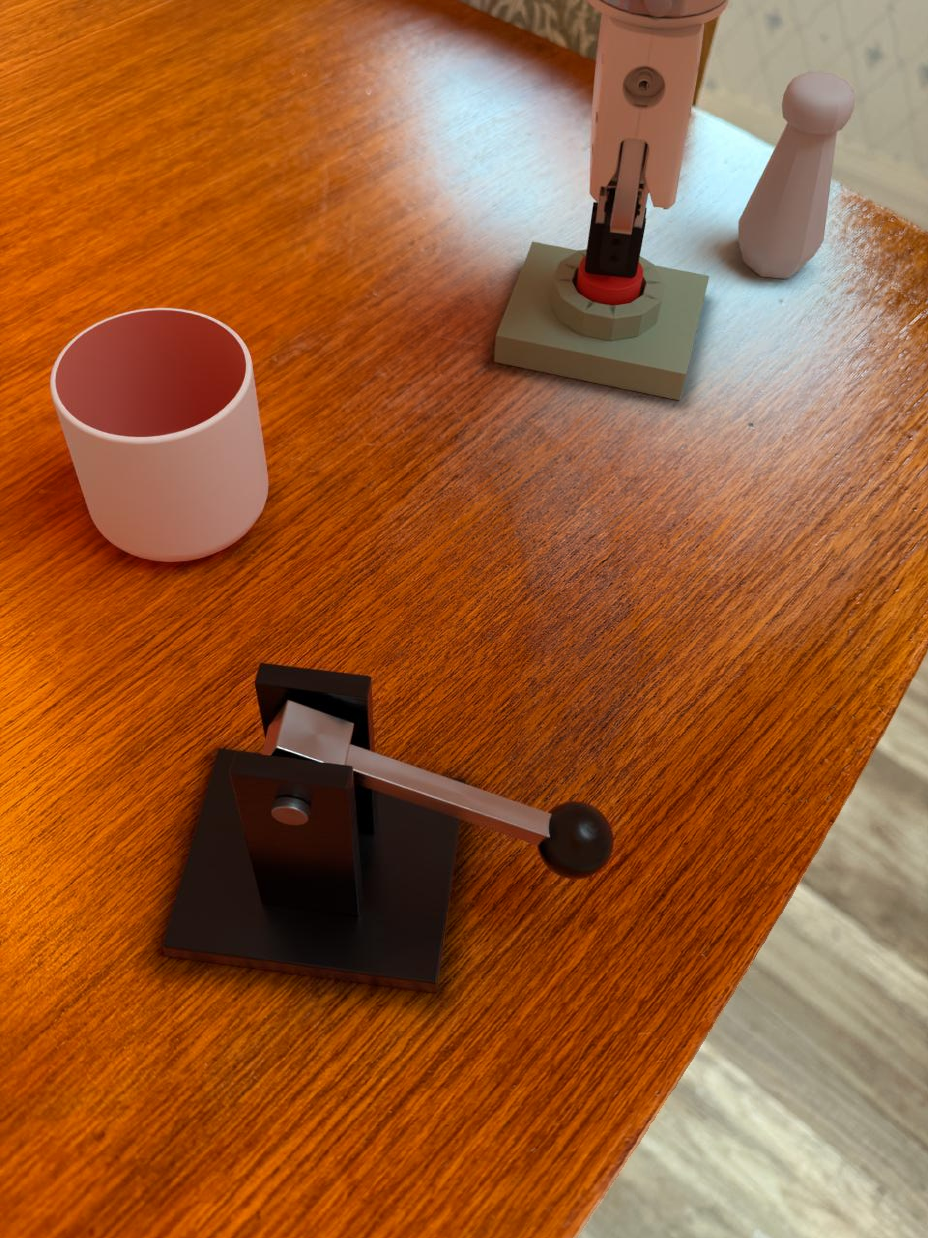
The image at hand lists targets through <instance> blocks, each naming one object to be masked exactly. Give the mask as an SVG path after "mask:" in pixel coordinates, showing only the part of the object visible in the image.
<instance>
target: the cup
mask: <svg viewBox="0 0 928 1238" xmlns="http://www.w3.org/2000/svg"><path fill="white" fill-rule="evenodd" d="M49 390H50V395H51V399H52V402H53V405H54V408H55V412H56V414H57V419H58V421H59V424H60V428H61V430H62V433H63V436H64V440H65V442H66V445H67V448H68V452H69V454H70V458H71V461H72V464H73V467H74V470H75V474H76V476H77V479H78V483H79V485H80V488H81V491H82V495H83V498H84V501H85V504H86V507H87V510H88V513H89V515H90V518H91V520H92V522H93V524H94V526H95V527H96V528H97V530H98V532H100V534H101V535H102V536H103V537H104V538H105V539H106V540H108V542H109V543H111V544H112V545H114V546H115V547H117V548H118V549H120V550H121V551H123V552H125V553H127V554H130V555H132V556H135V557H138V558H141V559H145V560H149V561H156V562H162V563H163V562H165V563H174V562H189V561H194V560H198V559H202V558H206V557H208V556H211V555H214V554H217V553H219V552H221V551H223V550H226V549H227V548H229V547H230V546H232V545H233V544H235V543H236V542H238V541H239V540H240V539H241V538H242V537H244V536H245V535H246V534H247V533H248V532H249V531H250V530H251V529H252V528H253V526H254V525H255V524H256V523H257V521H258V520H259V518H260V516H261V514H262V512H263V511H264V507H265V506H266V504H267V503H266V502H267V498H268V494H269V475H268V467H267V459H266V454H265V453H266V452H265V445H264V438H263V432H262V431H263V430H262V423H261V416H260V409H259V402H258V394H257V389H256V380H255V373H254V366H253V360H252V356H251V354H250V350H249V348H248V347H247V345H246V343H245V341H244V340H243V339H242V338H241V337H240V335H239V334H238V333H237V332H236V331H235V330H234V329H232V328H231V327H229V326H228V325H227V324H225V323H224V322H222V321H220V320H218V319H216V318H215V317H212V316H209V315H207V314H204V313H201V312H197V311H193V310H188V309H184V308H174V307H153V308H152V307H150V308H141V309H136V310H131V311H130V310H129V311H126V312H122V313H118V314H116V315H113V316H110V317H107V318H105V319H102V320H100V321H98V322H95V323H94V324H92V325H90V326H88V327H87V328H86V329H84V330H83V331H81V332H79V333H78V334H77V335H76V336H75V337H74V338H72V339H71V340H70V341H69V342H68V343H67V344H66V345H65V347H64V348H63V349H62V350H61V352H60V353H59V355H58V356H57V358H56V359H55V362H54V364H53V366H52V369H51V373H50V380H49Z"/></svg>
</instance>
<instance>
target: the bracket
mask: <svg viewBox="0 0 928 1238" xmlns="http://www.w3.org/2000/svg"><path fill="white" fill-rule="evenodd" d="M258 664H259V665H258V668H257V672H256V674H255V678H254V682H253V683H254V689H255V693H256V699H257V704H258V705H257V706H258V709H259V715H260V720H261V726H262V729H263V736H264V740H265V739H266V735H267V731H268V727H269V725H270V724H271V722H272V721H273V720H274V718H275V717H276V715H277V714H278V713H279V711H280V710H281V708H282V707H283V706H284V704H285V703H286V701H287V700H292V701H294V702H297V703H300V704H303V705H306V706H309V707H311V708H314V709H317V710H320V711H323V712H325V713H328V714H331V715H334V716H337V717H340V718H342V719H345V720H348V721H351V722H353V723H354V728H353V733H352V737H351V742H350V744H352V745H355V746H358V747H361V748H364V749H367V750H370V751H372V752H375V753H376V745H375V744H376V743H375V726H374V725H375V724H374V723H375V722H374V721H375V720H374V704H373V703H374V702H373V701H374V700H373V681H372V675H365V674H357V673H350V672H340V671H332V670H323V669H315V668H307V667H299V666H291V665H284V664H283V665H282V664H276V663H267V662H259V663H258ZM446 777H447V778H450V779H453V780H456V781H459V782H462V783H464V784H467V780H466V779H464V778H457V777H450V776H446ZM208 779H209V780H208V782H207V786H206V789H205V793H204V797H203V800H202V805H201V807H200V810H199V814H198V817H197V821H196V824H195V828H194V832H193V835H192V838H191V843H190V846H189V849H188V853H187V857H186V860H185V862H184V867H183V870H182V874H181V877H180V880H179V884H178V887H177V891H176V895H175V898H174V901H173V906H172V907H171V912H170V915H169V919H168V922H167V926H166V929H165V933H164V937H163V940H162V943H161V947H162V950H163V952H164V954H165V956H166V957H169V958H176V959H183V960H192V961H199V962H206V963H214V964H221V965H229V966H236V967H241V968H242V967H243V968H250V969H257V970H265V971H272V972H279V973H288V974H296V975H303V976H311V977H316V978H317V977H318V978H324V979H332V980H339V981H347V982H353V983H354V982H355V983H362V984H369V985H377V986H383V987H384V986H385V987H392V988H399V989H406V990H414V991H420V992H427V993H438V988H439V982H440V981H439V980H440V974H441V968H442V967H441V966H442V959H443V954H444V945H445V939H446V931H447V923H448V917H449V909H450V901H451V896H452V889H453V881H454V873H455V865H456V860H457V854H458V853H457V852H458V847H459V846H458V845H459V838H460V831H461V825H462V820H461V819H458V818H455V817H452V816H449V815H446V814H443V813H440V812H437V811H434V810H431V809H428V808H425V807H422V806H419V805H416V804H413V803H410V802H407V801H404V800H401V799H399V798H396V797H393V796H390V795H387V794H384V793H381V792H378V791H375V790H372V789H369V788H366V787H363V786H360V785H357V784H354V776H353V767H352V766H348V765H340V764H333V763H325V762H317V761H309V760H301V759H293V758H285V757H277V756H270V755H262V752H261V753H260V752H254V751H245V750H239V749H229V748H222V747H220V748H219V747H218V749H217V752H216V755H215V759H214V761H213V764H212V769H211V773H210V775H209V778H208Z"/></svg>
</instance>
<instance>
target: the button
mask: <svg viewBox="0 0 928 1238" xmlns="http://www.w3.org/2000/svg"><path fill="white" fill-rule="evenodd" d="M585 261H586V256H585V257H584V258H583V259H582V260H581V262H580V265H579V271H578V279H577V286H576V290H577V292H578V293H579V294H581V295H582V296H584V297H585V298H587V299H589V300H590V301H592V302H596V303H601V304H606V305H611V306H614V305H621V304H628V303H631V302H633V301H634V300H636V299H637V298H639V294H640V288H641V283H642V278H643V268H642V265H641V264H640V262H639V263H638V268H637V274H636V276H635V277H633V278H625V277H615V276H606V275H596V274H589V273H587V272H586V271H585Z"/></svg>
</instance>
